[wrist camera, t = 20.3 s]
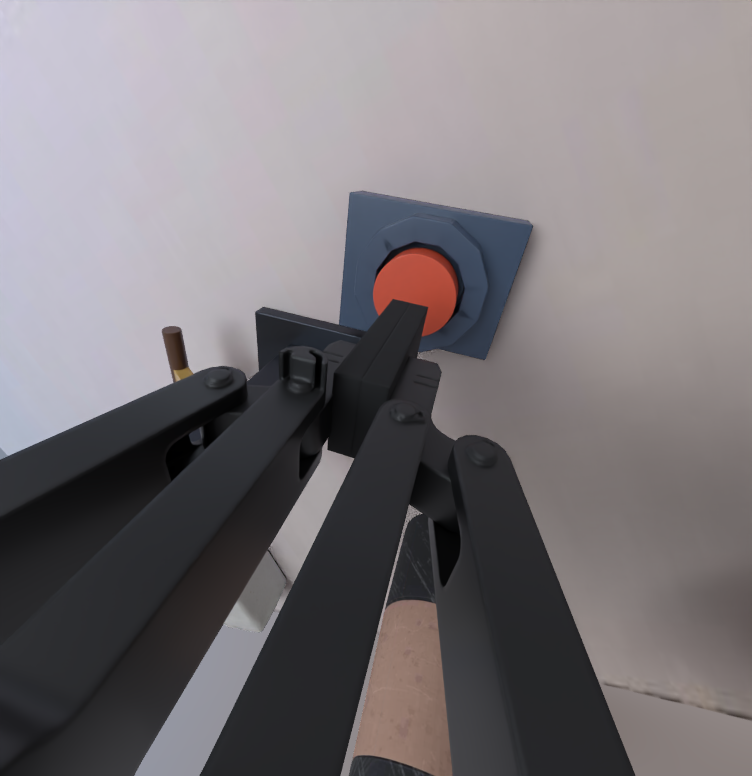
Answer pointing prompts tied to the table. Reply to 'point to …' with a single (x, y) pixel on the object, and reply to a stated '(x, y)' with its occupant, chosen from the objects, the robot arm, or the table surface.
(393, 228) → the button box
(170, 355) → the tap lever
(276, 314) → the tap bracket
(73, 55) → the table surface
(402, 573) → the travel mug
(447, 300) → the red button
